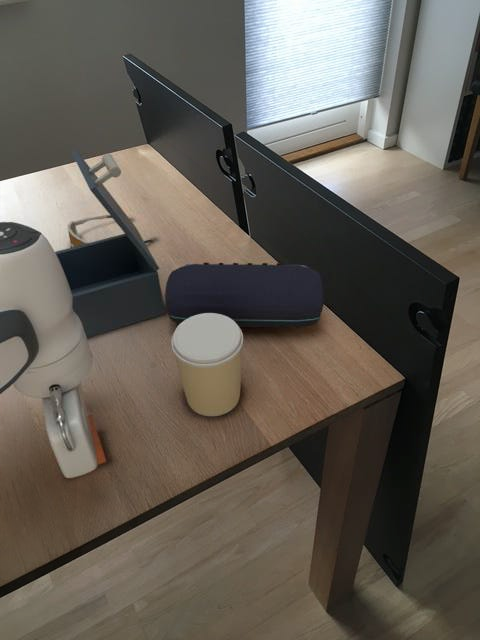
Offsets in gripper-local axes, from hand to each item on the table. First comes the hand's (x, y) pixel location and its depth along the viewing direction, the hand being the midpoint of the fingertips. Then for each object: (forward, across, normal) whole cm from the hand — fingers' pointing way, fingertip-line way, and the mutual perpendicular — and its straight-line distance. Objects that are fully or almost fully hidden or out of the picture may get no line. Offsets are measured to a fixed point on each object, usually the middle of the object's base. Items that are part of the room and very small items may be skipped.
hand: (80, 433), depth 68 cm
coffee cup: (+5, +3, -18) cm, 19 cm away
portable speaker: (+5, +17, -29) cm, 34 cm away
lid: (-12, +30, -13) cm, 35 cm away
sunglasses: (+5, +49, -12) cm, 50 cm away
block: (+4, 0, 0) cm, 5 cm away
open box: (+5, +30, -8) cm, 31 cm away
